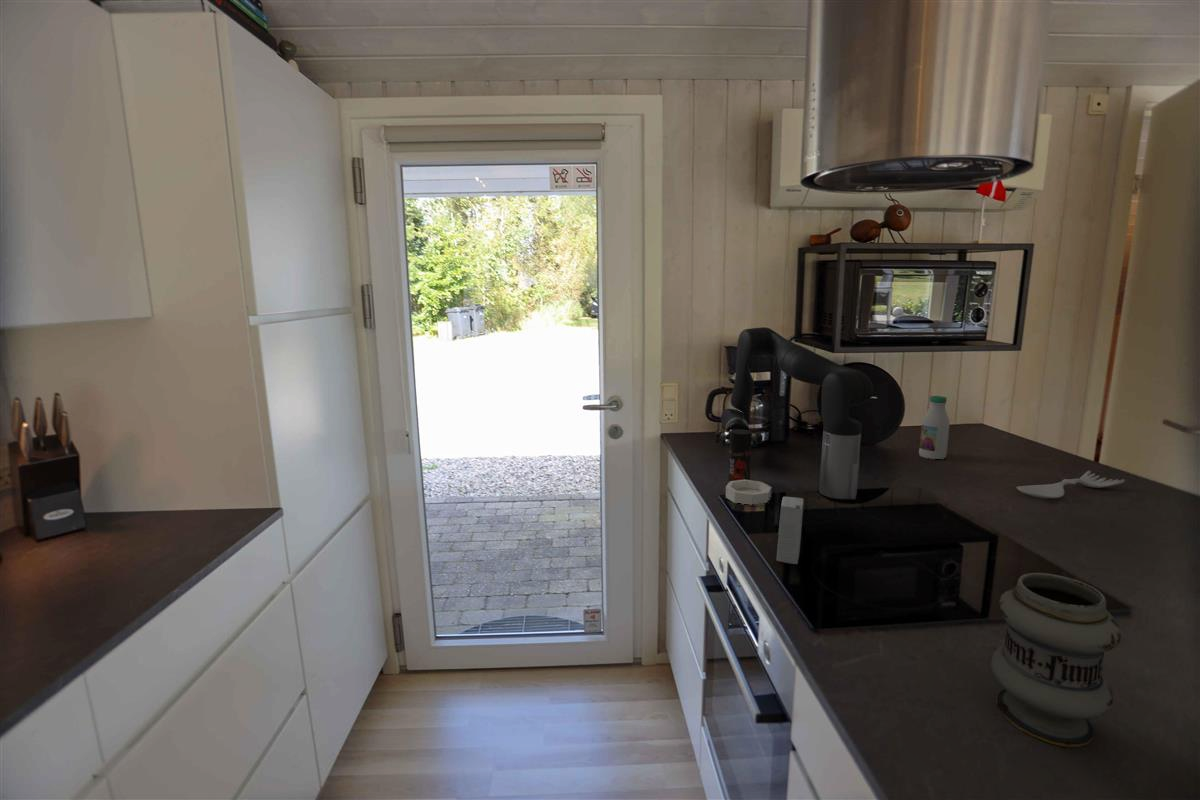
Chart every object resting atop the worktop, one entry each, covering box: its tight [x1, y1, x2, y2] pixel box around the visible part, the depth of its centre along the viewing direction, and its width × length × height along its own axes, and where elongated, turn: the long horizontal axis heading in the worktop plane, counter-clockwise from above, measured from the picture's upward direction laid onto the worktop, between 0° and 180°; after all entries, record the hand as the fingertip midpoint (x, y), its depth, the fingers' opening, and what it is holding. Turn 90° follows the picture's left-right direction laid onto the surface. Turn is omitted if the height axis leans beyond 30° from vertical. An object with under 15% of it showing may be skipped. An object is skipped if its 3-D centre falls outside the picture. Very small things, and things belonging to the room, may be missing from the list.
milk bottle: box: [918, 395, 950, 460], centre depth 183 cm, size 8×8×20 cm
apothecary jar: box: [990, 572, 1122, 748], centre depth 71 cm, size 12×12×18 cm
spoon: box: [1016, 470, 1126, 500], centre depth 152 cm, size 9×32×4 cm, turn 109°
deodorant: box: [727, 429, 753, 483], centre depth 161 cm, size 6×6×15 cm
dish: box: [725, 479, 772, 506], centre depth 150 cm, size 11×11×3 cm
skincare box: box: [775, 496, 805, 565], centre depth 115 cm, size 6×4×12 cm
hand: (739, 443), depth 170 cm, fingers open, 8 cm apart
